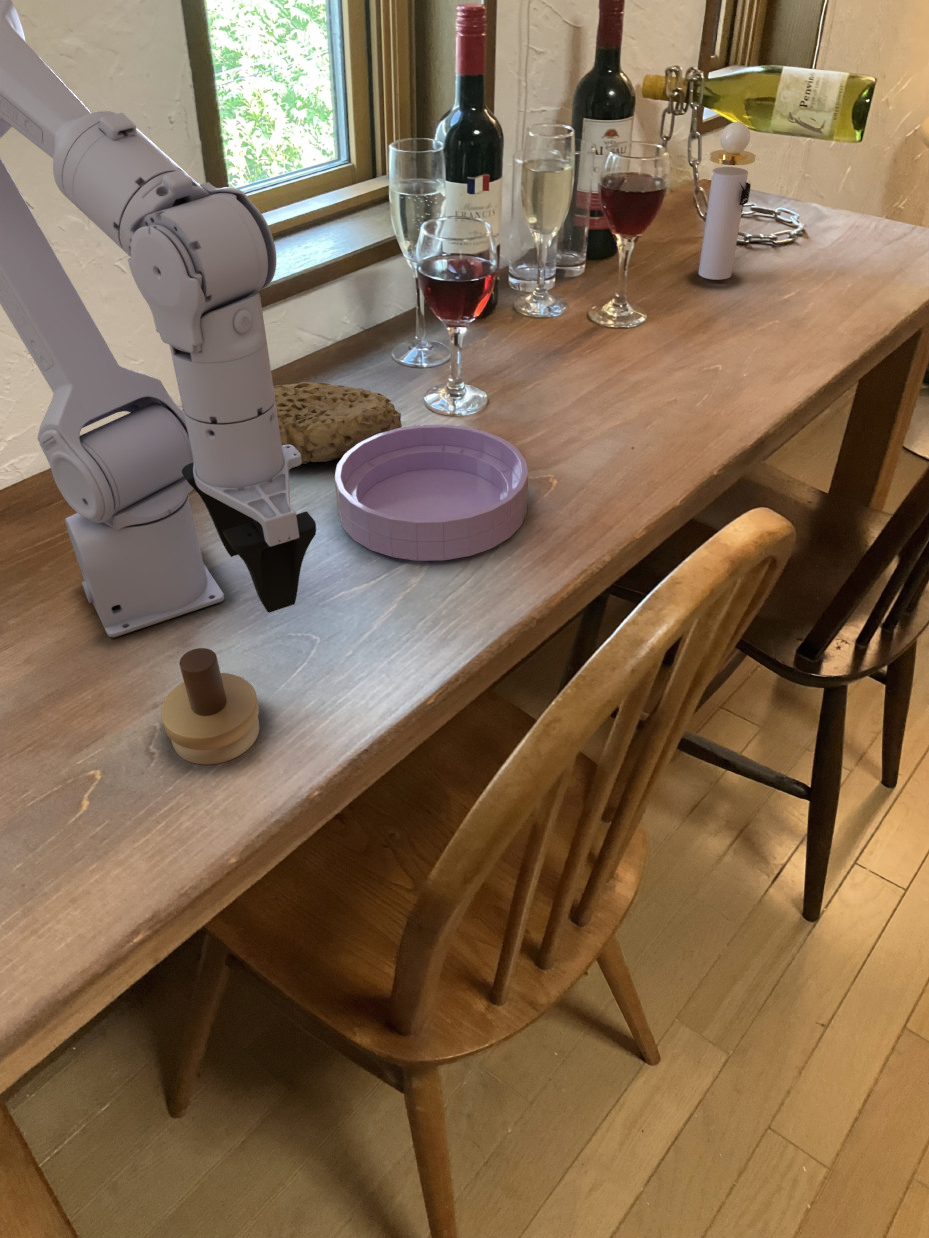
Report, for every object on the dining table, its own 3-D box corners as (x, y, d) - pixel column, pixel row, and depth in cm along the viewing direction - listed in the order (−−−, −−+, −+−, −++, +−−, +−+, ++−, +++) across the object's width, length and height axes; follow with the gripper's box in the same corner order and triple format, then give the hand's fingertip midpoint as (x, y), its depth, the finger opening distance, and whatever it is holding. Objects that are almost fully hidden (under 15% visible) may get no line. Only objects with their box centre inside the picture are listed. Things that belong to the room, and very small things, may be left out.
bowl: (393, 589, 80) (389, 544, 77) (310, 496, 91) (304, 454, 88) (563, 528, 86) (565, 485, 83) (465, 449, 98) (465, 409, 95)
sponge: (188, 476, 97) (354, 478, 88) (168, 398, 94) (339, 393, 85) (266, 441, 107) (421, 440, 98) (251, 370, 104) (410, 362, 95)
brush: (187, 780, 64) (165, 706, 59) (156, 722, 68) (134, 649, 63) (277, 742, 66) (262, 669, 62) (242, 689, 70) (226, 617, 66)
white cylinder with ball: (690, 284, 133) (712, 126, 121) (695, 270, 138) (717, 116, 125) (733, 288, 132) (759, 128, 119) (736, 274, 136) (762, 118, 124)
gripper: (334, 435, 57) (353, 614, 65) (250, 349, 67) (276, 514, 75) (219, 466, 54) (255, 648, 63) (149, 371, 64) (188, 540, 73)
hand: (260, 577), depth 69 cm, fingers open, 7 cm apart
